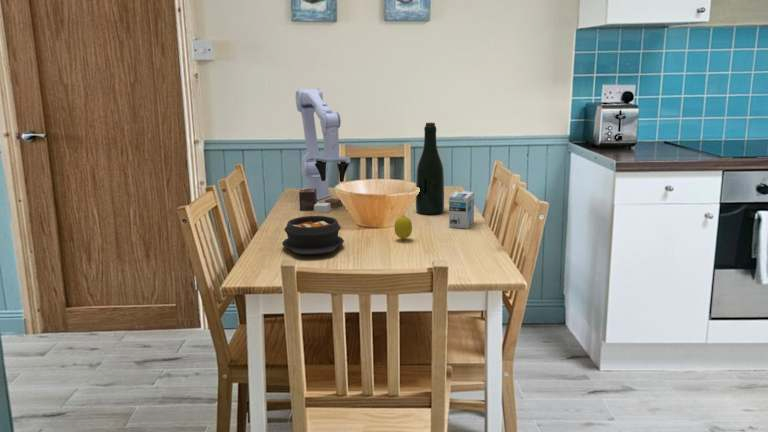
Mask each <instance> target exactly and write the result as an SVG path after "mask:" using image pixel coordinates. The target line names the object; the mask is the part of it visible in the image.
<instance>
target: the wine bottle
mask: <svg viewBox="0 0 768 432" xmlns="http://www.w3.org/2000/svg"><path fill="white" fill-rule="evenodd" d="M437 129H438V128H437V126H436V123H435V122H426V123H425V125H424V129H423V130H424V131H423V132H424V136H423V137H424V138H423V149H422V152H421V155H420V158H419V160H418V163H417V166H416V174H415V175H416V178H415V179H416V180H415V183H416V184H415V188H416V187H419V188H420V192H419V194H418V195H417V196H416V195H415V211H416V212H417V213H418V214H420V215H428V216H429V215H431V216H432V215H441V214H442V213H443V212H444V211H445V172H444V165H443V162H442V159H441V156H440V153H439V150H438V145H437Z"/></svg>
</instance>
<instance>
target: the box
mask: <svg viewBox="0 0 768 432" xmlns="http://www.w3.org/2000/svg"><path fill="white" fill-rule="evenodd" d="M298 198H299V202H298V203H299V211H302V212H304V211H314V205H315V204H316V203H318V200H317V193H316V189H306V188H301V189H300V190H299V191H298Z"/></svg>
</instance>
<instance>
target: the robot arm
mask: <svg viewBox="0 0 768 432" xmlns="http://www.w3.org/2000/svg"><path fill="white" fill-rule="evenodd" d="M323 99H324V96H323V91H322V90H321V89H320V88H319V87H318V88H307V89H306V88H305V89H300V88H298V89H297V90H296V91H295V103H296V106H295V107H296V109H297V112H299V113H301V118H302V125H303V133H304V140H305V141H304V142H305V147H306V148H305V149H306V153H305V154H304V155H303V156H302V157H301V159H300V170H301V175H303V177H305V189H316V193H317V201H319V200H322V199H325V198H328V197H330V196H331V194H330V193H329V179H328V177H327V174H328V169H329V166H328V163H337V169H338V175H339V176H338V178H339V183H342V182H345V175H346V173H347V170H348V168H349V165H350V163H351V156H350V157H348V156H340V144H339V143H340V140H339V138H340V137H339V128H341V124H342V123H341V121H342V120H341V119H342V118H341V116H340V113H339V112H338V111H337V112H336V111H335V112H334V111H333V110H332V108H331V107H330V106H329V104H328V103H327V102H324V101H323ZM315 114H316V116H317V117H318V118H319V123H320V127H321V134H322V135H323V136H322V139H323V153H321V152H320V151H319V145H318V135H317V128H316V122H315Z"/></svg>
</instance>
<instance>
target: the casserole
mask: <svg viewBox="0 0 768 432" xmlns="http://www.w3.org/2000/svg"><path fill="white" fill-rule="evenodd" d="M341 228H342V227H341V225H340V223H339V222H338V220H337V219H336V218H334V217H331V216H324V215H307V216H299V217H295V218H292V219H289V220H288V221H287V224H286V226H285V228H284V232H285V233H286V235H287V238H285V239H284V240H283V241H282V244H281V245H282V246H283V247H284V248H287V249H289V250H290V251H292V252H293V253H295V254H297V255H307V256H308V255H323V254H329V253H333V252H335V250H337V248H338V247H340V246H342V245H343V244H344V242H345V240H344V239H343V238H342V237H341V236H339V231H340V230H341Z"/></svg>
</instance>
